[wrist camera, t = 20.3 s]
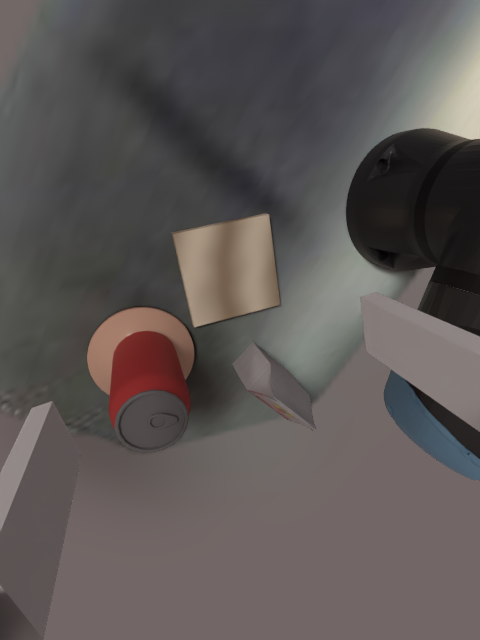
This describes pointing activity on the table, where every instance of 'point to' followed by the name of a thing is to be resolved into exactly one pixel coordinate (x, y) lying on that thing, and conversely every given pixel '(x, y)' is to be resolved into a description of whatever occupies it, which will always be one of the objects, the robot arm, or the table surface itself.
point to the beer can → (148, 393)
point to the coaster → (128, 324)
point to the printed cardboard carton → (274, 385)
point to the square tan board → (227, 268)
